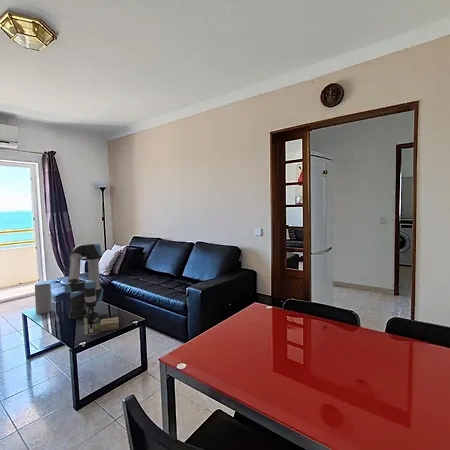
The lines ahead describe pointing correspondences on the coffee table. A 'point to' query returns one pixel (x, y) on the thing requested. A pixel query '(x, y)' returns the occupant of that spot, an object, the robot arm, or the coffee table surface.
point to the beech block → (109, 324)
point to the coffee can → (95, 323)
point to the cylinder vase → (43, 298)
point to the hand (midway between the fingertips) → (91, 329)
